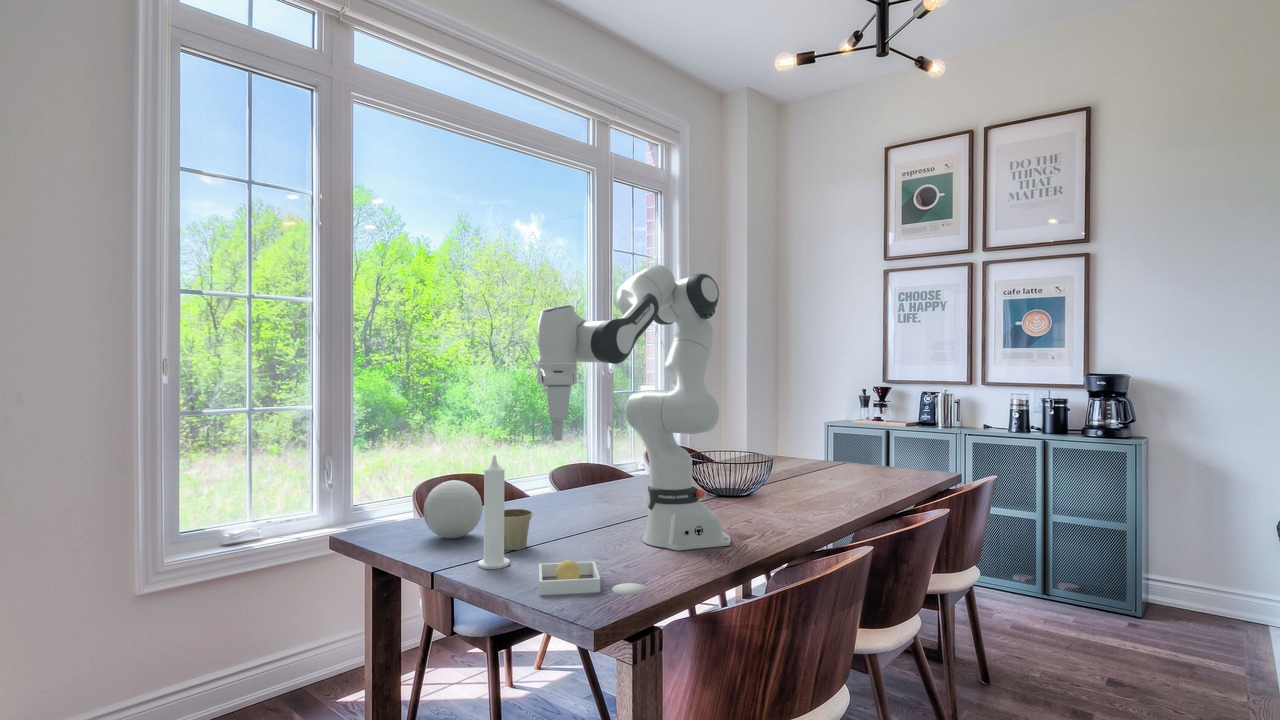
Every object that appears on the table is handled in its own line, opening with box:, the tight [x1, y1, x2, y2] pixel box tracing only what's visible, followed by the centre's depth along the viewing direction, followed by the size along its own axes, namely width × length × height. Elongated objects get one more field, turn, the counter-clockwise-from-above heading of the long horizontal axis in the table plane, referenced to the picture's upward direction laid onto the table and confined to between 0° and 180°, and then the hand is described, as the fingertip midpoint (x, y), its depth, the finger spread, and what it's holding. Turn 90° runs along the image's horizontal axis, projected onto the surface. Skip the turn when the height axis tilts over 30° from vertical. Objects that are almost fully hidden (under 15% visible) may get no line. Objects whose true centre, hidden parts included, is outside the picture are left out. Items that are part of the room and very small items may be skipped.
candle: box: [477, 454, 511, 570], centre depth 152 cm, size 7×7×25 cm
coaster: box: [611, 582, 647, 596], centre depth 134 cm, size 7×7×1 cm
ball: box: [555, 559, 581, 580], centre depth 137 cm, size 5×5×5 cm
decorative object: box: [423, 479, 483, 539], centre depth 176 cm, size 15×15×15 cm
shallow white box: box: [538, 560, 601, 596], centre depth 137 cm, size 12×12×3 cm
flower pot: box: [504, 508, 534, 551], centre depth 166 cm, size 9×9×9 cm
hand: (556, 437), depth 150 cm, fingers open, 8 cm apart
